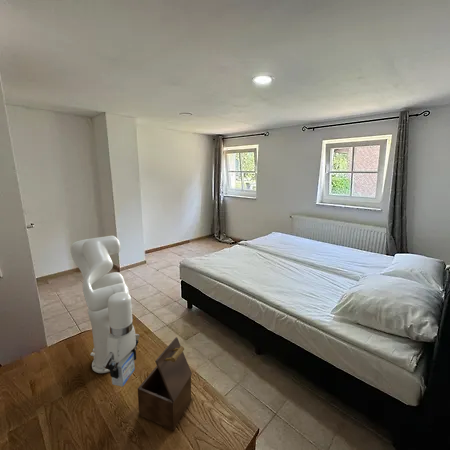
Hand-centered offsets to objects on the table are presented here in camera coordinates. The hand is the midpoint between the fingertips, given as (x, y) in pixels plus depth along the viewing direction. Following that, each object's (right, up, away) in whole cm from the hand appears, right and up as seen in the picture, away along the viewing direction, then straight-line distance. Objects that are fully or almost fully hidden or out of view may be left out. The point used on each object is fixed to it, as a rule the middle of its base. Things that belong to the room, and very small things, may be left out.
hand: (123, 367), depth 91 cm
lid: (+19, +2, -4) cm, 20 cm away
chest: (+15, -16, +2) cm, 22 cm away
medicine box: (-1, -5, +1) cm, 5 cm away
